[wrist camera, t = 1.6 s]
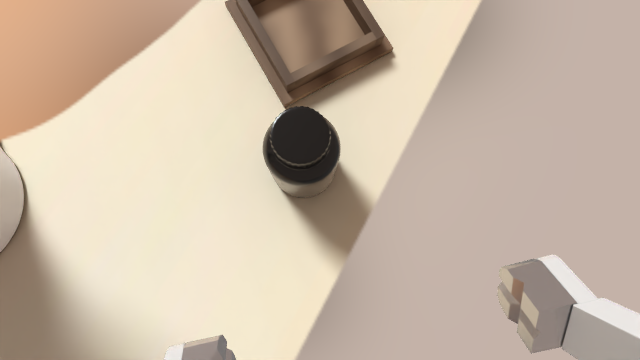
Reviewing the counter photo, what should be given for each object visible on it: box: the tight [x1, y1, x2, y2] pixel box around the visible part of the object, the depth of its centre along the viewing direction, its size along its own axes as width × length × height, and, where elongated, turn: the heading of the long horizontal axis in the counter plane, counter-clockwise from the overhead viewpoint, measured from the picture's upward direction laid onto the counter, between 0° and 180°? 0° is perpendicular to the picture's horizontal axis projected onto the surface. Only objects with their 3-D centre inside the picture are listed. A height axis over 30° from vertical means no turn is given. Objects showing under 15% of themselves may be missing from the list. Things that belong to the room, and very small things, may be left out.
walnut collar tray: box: [225, 0, 393, 108], centre depth 43 cm, size 14×14×3 cm
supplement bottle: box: [263, 106, 340, 198], centre depth 36 cm, size 7×7×12 cm
